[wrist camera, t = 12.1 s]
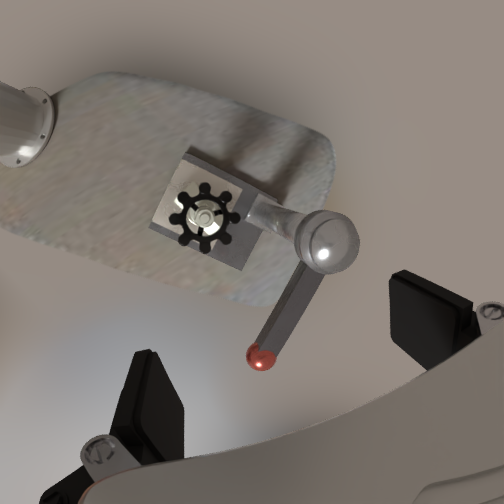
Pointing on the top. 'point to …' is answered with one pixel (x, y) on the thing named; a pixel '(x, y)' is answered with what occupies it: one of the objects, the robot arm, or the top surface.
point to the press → (253, 220)
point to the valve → (204, 216)
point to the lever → (291, 295)
